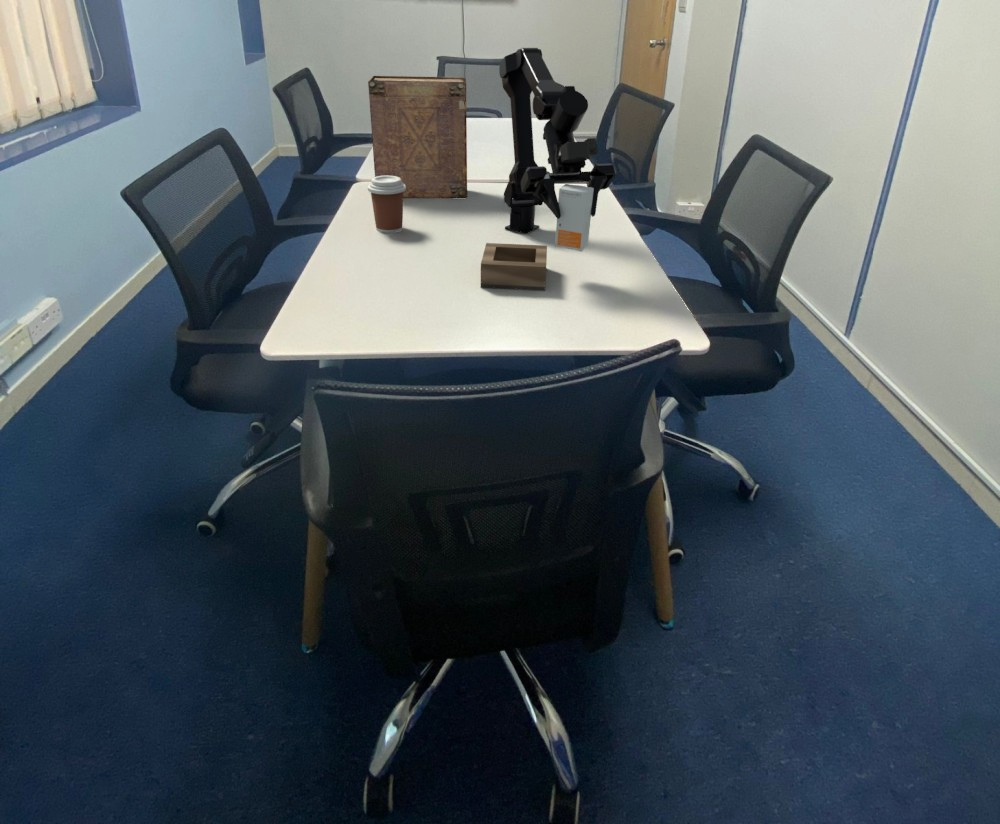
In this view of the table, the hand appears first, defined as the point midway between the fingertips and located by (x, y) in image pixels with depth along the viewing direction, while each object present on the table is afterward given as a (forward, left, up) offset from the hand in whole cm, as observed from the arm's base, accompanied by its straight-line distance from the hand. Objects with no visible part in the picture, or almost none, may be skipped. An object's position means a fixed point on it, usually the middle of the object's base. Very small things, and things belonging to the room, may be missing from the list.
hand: (576, 216), depth 143 cm
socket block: (+6, -10, -13) cm, 18 cm away
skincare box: (-1, -1, -7) cm, 7 cm away
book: (-33, -67, -13) cm, 76 cm away
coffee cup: (-3, -53, -13) cm, 54 cm away
